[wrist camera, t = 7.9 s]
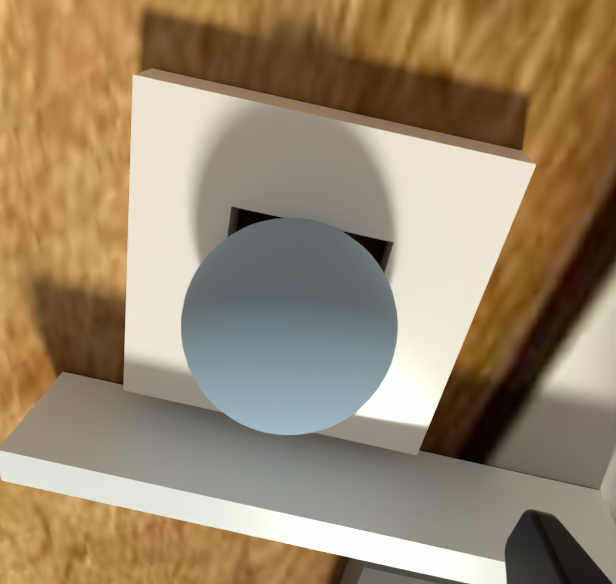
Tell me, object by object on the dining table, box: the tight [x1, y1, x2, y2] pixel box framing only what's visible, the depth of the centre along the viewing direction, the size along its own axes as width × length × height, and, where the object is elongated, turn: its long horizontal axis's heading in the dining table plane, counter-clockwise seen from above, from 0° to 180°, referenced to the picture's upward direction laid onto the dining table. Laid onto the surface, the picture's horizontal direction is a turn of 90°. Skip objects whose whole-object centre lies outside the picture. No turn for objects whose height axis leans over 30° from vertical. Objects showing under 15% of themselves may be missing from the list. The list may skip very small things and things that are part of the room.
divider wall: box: [0, 372, 616, 584], centre depth 16 cm, size 18×1×4 cm, turn 79°
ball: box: [181, 218, 398, 435], centre depth 13 cm, size 5×5×5 cm
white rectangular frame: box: [123, 68, 536, 455], centre depth 14 cm, size 9×9×1 cm
